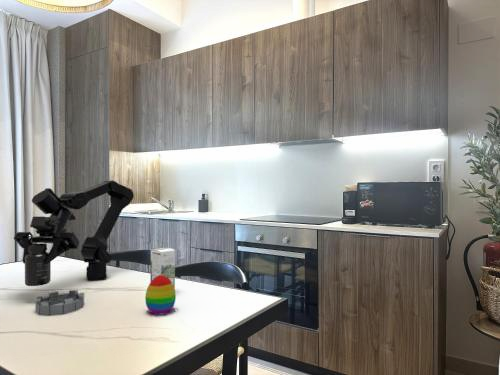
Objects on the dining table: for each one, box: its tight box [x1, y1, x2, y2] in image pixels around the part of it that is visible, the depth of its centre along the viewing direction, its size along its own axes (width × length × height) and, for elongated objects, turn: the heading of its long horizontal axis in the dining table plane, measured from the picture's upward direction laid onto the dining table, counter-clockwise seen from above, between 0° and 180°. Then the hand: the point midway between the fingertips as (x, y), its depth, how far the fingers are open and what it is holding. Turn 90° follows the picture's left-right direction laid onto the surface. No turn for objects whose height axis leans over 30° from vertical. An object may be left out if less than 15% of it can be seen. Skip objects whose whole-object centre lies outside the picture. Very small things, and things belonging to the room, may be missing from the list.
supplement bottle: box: [24, 243, 52, 287], centre depth 107 cm, size 7×7×12 cm
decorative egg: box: [144, 275, 177, 315], centre depth 98 cm, size 8×8×10 cm
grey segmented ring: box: [34, 289, 85, 317], centre depth 100 cm, size 12×12×4 cm
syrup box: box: [149, 247, 176, 290], centre depth 114 cm, size 6×6×14 cm
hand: (34, 262), depth 106 cm, fingers closed on supplement bottle, 7 cm apart
